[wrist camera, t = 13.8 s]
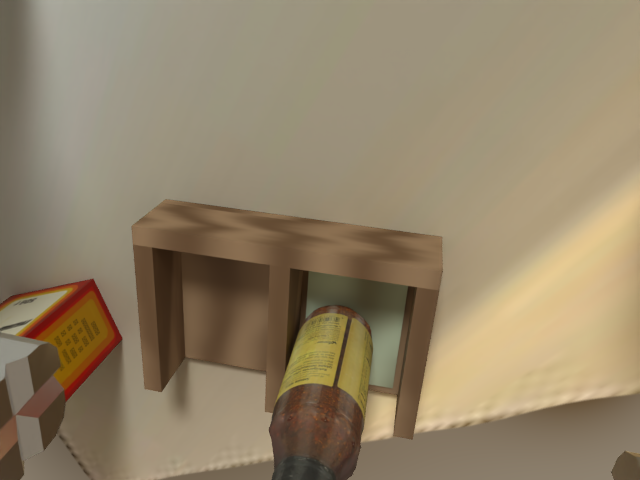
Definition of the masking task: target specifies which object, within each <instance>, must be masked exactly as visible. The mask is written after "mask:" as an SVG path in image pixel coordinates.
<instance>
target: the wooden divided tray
mask: <svg viewBox="0 0 640 480" xmlns="http://www.w3.org/2000/svg"><path fill="white" fill-rule="evenodd" d="M132 237H133V250H134V262H135V275H136V287H137V299H138V312H139V324H140V337H141V349H142V361H143V374H144V386H145V389H148V390H153V391H158V392H162V391H163V389H164V388H165V386H166V385H167V383H168V382H169V380H170V379H171V377H172V376H173V374H174V373H175V371H176V370H177V369H178V367H179V366H180V364H181V363H182V361H183V360H184V358H185V357H188V358H194V359H199V360H205V361H210V362H216V363H222V364H227V365H233V366H239V367H244V368H250V369H255V370H261V371H266V396H265V412H270V413H273V410H274V406H275V403H276V400H277V397H278V394H279V390H280V387H281V384H282V381H283V378H284V375H285V372H286V370H287V367H288V364H289V360H290V357H291V354H292V351H293V348H294V345H295V342H296V339H297V336H298V333H299V331H300V329H301V327H302V324H303V323H304V321H305V320H306V318H307V317H308V316H309V315H310V314H311V313H312V312H313V311H314V310H316V309H318V308H320V307H324V306H328V305H330V306H333V305H341V306H345V307H349V308H351V309H353V310H354V311H355V312H357V313H358V314H359V315H360V316H361V317H363V318H364V319H365V321H366V322H367V323H368V324H369V326H370V329H371V336H372V342H373V355H372V363H371V371H370V378H369V386H368V390H373V391H379V392H384V393H390V394H396V395H397V405H396V415H395V425H394V435H393V436H397V437H402V438H408V439H413V433H414V428H415V422H416V417H417V411H418V406H419V400H420V394H421V389H422V383H423V378H424V372H425V366H426V361H427V355H428V350H429V344H430V339H431V333H432V327H433V322H434V316H435V311H436V305H437V299H438V294H439V288H440V283H441V277H442V272H443V267H442V237H438V236H431V235H424V234H416V233H409V232H402V231H394V230H387V229H380V228H372V227H365V226H358V225H350V224H343V223H336V222H328V221H321V220H314V219H306V218H299V217H292V216H284V215H277V214H270V213H262V212H255V211H248V210H240V209H233V208H226V207H218V206H211V205H204V204H196V203H189V202H182V201H174V200H167V199H166V200H164V201H163V202H162V203H161V204H159V205H158V206H157V207H155V208H154V209H153V210H152V211H150V212H149V213H148V214H146V215H145V216H144V217H143V218H141V219H140V220H139V221H138V222H136V223H135V224H134V225H132Z"/></svg>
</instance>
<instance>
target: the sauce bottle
mask: <svg viewBox="0 0 640 480" xmlns="http://www.w3.org/2000/svg"><path fill="white" fill-rule="evenodd" d="M372 355H373V342H372V336H371V329H370V326H369V324H368V323H367V322H366V321H365V319H364V318H363V317H361V316H360V315H359V314H358V313H357V312H355V311H354V310H353V309H351V308H349V307H345V306H341V305H333V306H330V305H328V306H324V307H320V308H318V309H316V310H314V311H313V312H312V313H311V314H310V315H309V316H308V317H307V318H306V320H305V321H304V323H303V324H302V327H301V329H300V331H299V333H298V336H297V339H296V342H295V345H294V348H293V351H292V354H291V357H290V360H289V364H288V367H287V370H286V372H285V375H284V378H283V381H282V384H281V387H280V390H279V394H278V397H277V400H276V403H275V406H274V410H273V415H272V421H271V425H270V427H269V433H270V436H271V440H272V447H273V454H274V473H273V476H272V480H347V479H348V478H349V477H350V476H352V474H353V472H354V470H355V468H356V464H357V459H358V455H359V452H360V448H361V445H360V441H361V434H362V432H363V428H364V421H365V413H366V403H367V394H368V386H369V378H370V371H371V363H372Z"/></svg>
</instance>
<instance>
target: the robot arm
mask: <svg viewBox="0 0 640 480" xmlns="http://www.w3.org/2000/svg"><path fill="white" fill-rule="evenodd" d="M60 366H61V364H60V359H59V354H58V349H57V347H55V346H54V345H52V344H51V343H49V342H44V341H40V340H35V339H30V338H26V337H21V336H16V335H12V334H7V333H2V332H0V480H20V479H21V478H22V477H23V475H24V461H25V460H27V459H29V458H31V457H33V456H35V455H37V454H39V453H41V452H43V451H44V450H45V449H46V447H47V446H48V445H49V444H50V443H51V441H52V440H53V439H54V437H55V436H56V434H57V432H58V429H59V427H60V425H61V422H62V420H63V418H64V412H65V404H66V400H65V392H64V388H63V387H62V386H61V385H60V383H59V382H58V381H57V380H56V378H55V377H54V376H53V375H54V374H55V372H56V371H57V370H58V369H59V367H60ZM611 473H612V476H613V478H614V480H640V454H638V453H633V452H627V451H625V452H624V453H622V454H621V455H620V456H619V457H618V459H617V460H616V463H615V465H614V467H613V469H612V472H611Z"/></svg>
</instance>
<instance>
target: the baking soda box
mask: <svg viewBox="0 0 640 480" xmlns="http://www.w3.org/2000/svg"><path fill="white" fill-rule="evenodd" d="M0 332H2V333H7V334H12V335H16V336H21V337H26V338H30V339H35V340H40V341H44V342H49V343H51V344H52V345H54V346H55V347H57V349H58V354H59V359H60V364H61V366H60V367H59V369H58V370H57V371H56V372H55V374H54V375H53V376H54V377H55V378H56V380H57V381H58V382H59V383H60V385H61V386H62V387H63V388H64V392H65V400H66V401H67V400H68V399H69V398H70V397H71V396H72V394H73V393H74V392H75V391H76V390H77V389H78V388H79V387H80V385H81V384H82V383H83V382H84V381H85V380H86V379H87V378H88V377H89V375H90V374H91V373H92V372H93V371H94V370H95V369H96V368H97V367H98V365H99V364H100V363H101V362H102V361H103V360H104V359H105V358H106V357H107V355H108V354H109V353H110V352H111V351H112V350H113V349H114V348H115V347H116V345H117V344H118V343H119V342H120V341H121V340H122V337H121V335H120V333H119V331H118V329H117V326H116V324H115V322H114V320H113V318H112V316H111V314H110V312H109V310H108V308H107V306H106V304H105V302H104V300H103V298H102V296H101V294H100V292H99V289H98V287H97V285H96V283H95V281H94V279H90V280H85V281H80V282H76V283H71V284H66V285H61V286H57V287H52V288H47V289H42V290H38V291H33V292H28V293H23V294H19V295H14V296H11V297H9V298H8V299H7V300H5V301H4V302H3V303H1V304H0Z"/></svg>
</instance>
